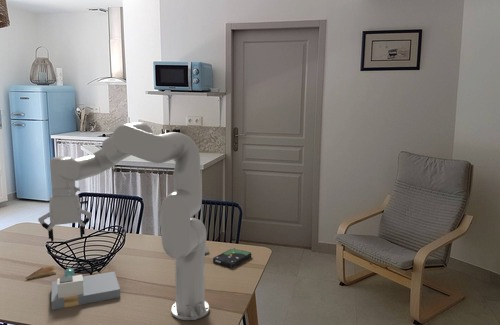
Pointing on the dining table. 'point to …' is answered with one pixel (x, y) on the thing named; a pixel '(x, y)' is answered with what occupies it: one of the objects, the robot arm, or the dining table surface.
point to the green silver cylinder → (69, 272)
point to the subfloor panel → (89, 291)
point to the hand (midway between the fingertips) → (67, 238)
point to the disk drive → (232, 258)
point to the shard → (42, 272)
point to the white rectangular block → (70, 286)
